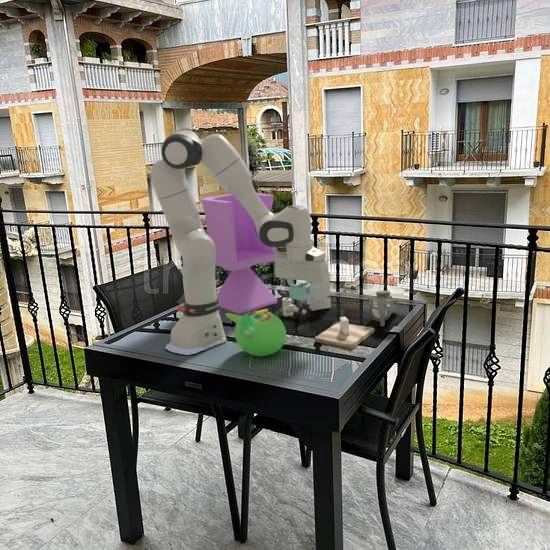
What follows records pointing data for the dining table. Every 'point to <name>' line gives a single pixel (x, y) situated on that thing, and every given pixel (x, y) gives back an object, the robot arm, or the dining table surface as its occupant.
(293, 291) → the teal collar
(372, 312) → the pipe fitting
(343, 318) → the steel key shaft
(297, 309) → the valve
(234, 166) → the robot arm
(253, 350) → the toy bird
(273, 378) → the dining table surface
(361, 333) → the oak plate
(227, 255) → the chair
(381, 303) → the mechanical component
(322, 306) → the skincare box
